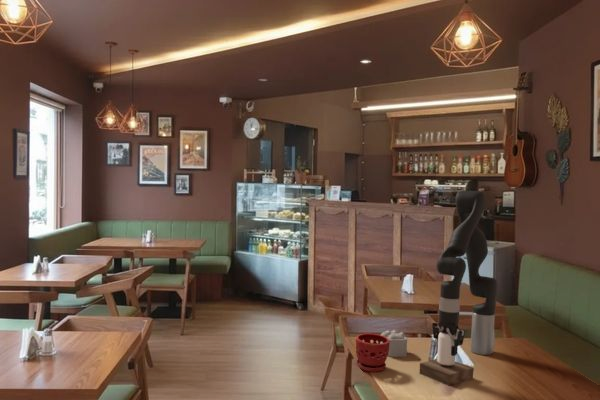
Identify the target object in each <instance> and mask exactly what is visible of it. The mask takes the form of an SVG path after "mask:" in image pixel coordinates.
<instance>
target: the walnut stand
mask: <svg viewBox="0 0 600 400" xmlns="http://www.w3.org/2000/svg"><path fill="white" fill-rule="evenodd" d="M419 375H422V376H424V377H427V378H430V379H432V380H434V381H437V382H440V383H441V384H444V385H446V386H452V385H453V386H454V385H456V384H459V383H463V382H466V381H469V380H472V379H474V367H472V366H469V365H466V364H463V363H461V362H457V361H455V364H454V365H451V366H447V365H442V364H439V363H438V361H437V358H436V359H431V360H428V361H423V362H420V363H419Z"/></svg>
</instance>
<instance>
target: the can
mask: <svg viewBox="0 0 600 400" xmlns="http://www.w3.org/2000/svg"><path fill="white" fill-rule="evenodd" d="M439 332H440V331H439ZM449 335H450V334H446V333H442V332H440V333H439V336H438V341H437V357H436V359H437V361H438V363H439V364H442V365H447V366H451V365H454V364H455V362H456V355H455V356H452V355H451V347H452V343H451V342H452V340H450V336H449ZM452 337H455V335H453V336H452ZM454 342H455V339H454Z"/></svg>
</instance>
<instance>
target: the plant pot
mask: <svg viewBox="0 0 600 400" xmlns="http://www.w3.org/2000/svg"><path fill="white" fill-rule="evenodd" d="M371 341H373V342H371ZM381 341H382V342H383V343H382V344H380V342H381ZM389 345H390V341H389V339H388V338H387V337H385V336H382V335H381V334H378V333H370V332H369V333H361V334H358V335H357V336H356V337H355V354H356V358H357V359H356V361H355V364H356V366H357V367H358V368H359V369H361V370H363V371H366V372H373V373H374V372H380V371H383V370H384V369H386V366H387V364H386V361H387V359H388V352H389Z"/></svg>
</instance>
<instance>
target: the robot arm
mask: <svg viewBox="0 0 600 400" xmlns="http://www.w3.org/2000/svg"><path fill="white" fill-rule="evenodd" d="M486 204H487V198H486V195H485V193H484V192H482V191H480V190H461V191H458V192H457V193H456V196H455V207H456V211H457V215H458V218H459V219H458V220H459V223H460V224H459V225H458V226H457V227H456V228H455V229H454V230H453V232H452V234H451V235H450V237H449V238H450V239H449V242H448V244H447V246H446V248H445V249H444V250H443V251H442V253H441V254H440V255H439V257H438V260H437V262H436V270H437V272H438V273H439V274H440V275H444V276H451V277H452V276H453V279H452V280H444V281H442V282H441V283H440V295H439V296H440V297H439V303H438V321H437V322H436V321H435V322H432V323H431V326H432V327H431V328H432V334H433V335H432V336H433V339H436V340H437V342H438V336H439V333H440V332H442V333H446V334H450V335H449V336H450V340H452V342H451V343H452V347H451V355H452V356H455V357H456V356H457V354H458V347H459V346H462V345H463V344H464V341H465V334H466V330H465V329H460V328H459V322H460V310H461V309H460V305H461V303H460V302H461V301H460V293H461V286H462V281H463V277H464V276H465V272H466V270H468V281H469V283H468V285H469V290H470V294H471V295H472V296H474V297H477V298H483V299H485V301H484V302H483V303H477V304H474V305H473V306H472V315H471V331H470V332H471V335H470V351H471V352H472V353H474V354H477V355H483V356H486V355H487V356H490V355H493V353H494V351H495V336H496V334H495V333H496V332H495V314H496V313H495V312H496V308H497V307H496V305H497V295H498V294H497V293H498V282H497V279H496V278H495V277H489V276H484V275H483V276H482V275H480V274H479V273H480V272H479V271H480V268H481V265H482V264H483V263H484V261H485V260H486V258H487V256H488V253H489V249H488V242H487V237H486V235H485V234H484V232H483V231H482V230H481V228H479V226H478V224H479V221H480V219H481V217H482V216H483V214H484V211H485V209H486ZM463 256H466V261H465V260H464V259H463V258H461V257H463ZM466 262H467V263H466ZM466 264H467V265H466ZM453 335H455V337H452V336H453ZM454 339H455V342H454Z"/></svg>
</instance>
